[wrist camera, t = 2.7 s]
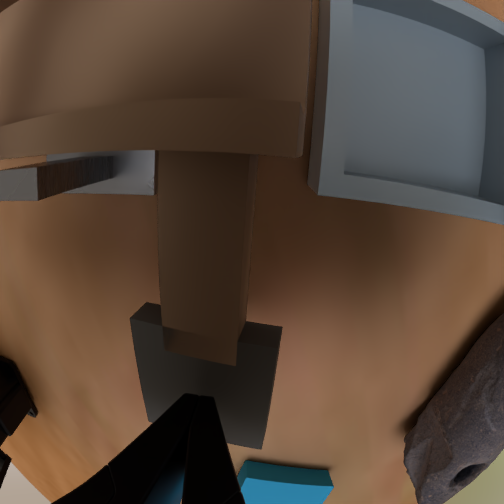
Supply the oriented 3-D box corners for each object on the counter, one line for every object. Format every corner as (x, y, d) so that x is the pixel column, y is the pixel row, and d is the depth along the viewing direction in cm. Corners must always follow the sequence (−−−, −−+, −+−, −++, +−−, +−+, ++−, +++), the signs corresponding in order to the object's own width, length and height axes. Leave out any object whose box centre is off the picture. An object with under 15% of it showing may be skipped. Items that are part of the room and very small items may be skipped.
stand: (56, 190, 14) (-28, 219, 8) (76, -4, 10) (9, -41, 4) (159, 192, 13) (90, 226, 8) (181, -26, 10) (138, -95, 4)
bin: (307, 184, 13) (359, 238, 5) (319, -10, 10) (358, -123, 2) (479, 211, 13) (592, 268, 5) (487, 44, 10) (591, 16, 2)
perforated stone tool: (492, 274, 14) (567, 335, 7) (532, 295, 14) (593, 347, 8) (374, 446, 19) (392, 520, 12) (422, 447, 19) (445, 510, 13)
